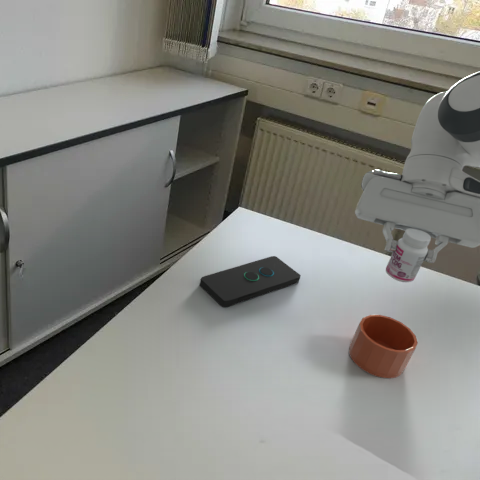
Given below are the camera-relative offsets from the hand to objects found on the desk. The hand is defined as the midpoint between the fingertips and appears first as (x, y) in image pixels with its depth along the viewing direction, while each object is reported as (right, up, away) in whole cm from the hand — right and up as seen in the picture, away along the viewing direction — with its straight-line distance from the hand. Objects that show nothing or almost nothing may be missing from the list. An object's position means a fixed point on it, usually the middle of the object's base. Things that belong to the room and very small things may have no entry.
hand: (409, 256), depth 91 cm
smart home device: (-23, -6, +18) cm, 29 cm away
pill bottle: (0, -3, +3) cm, 5 cm away
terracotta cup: (-5, -18, +2) cm, 18 cm away
